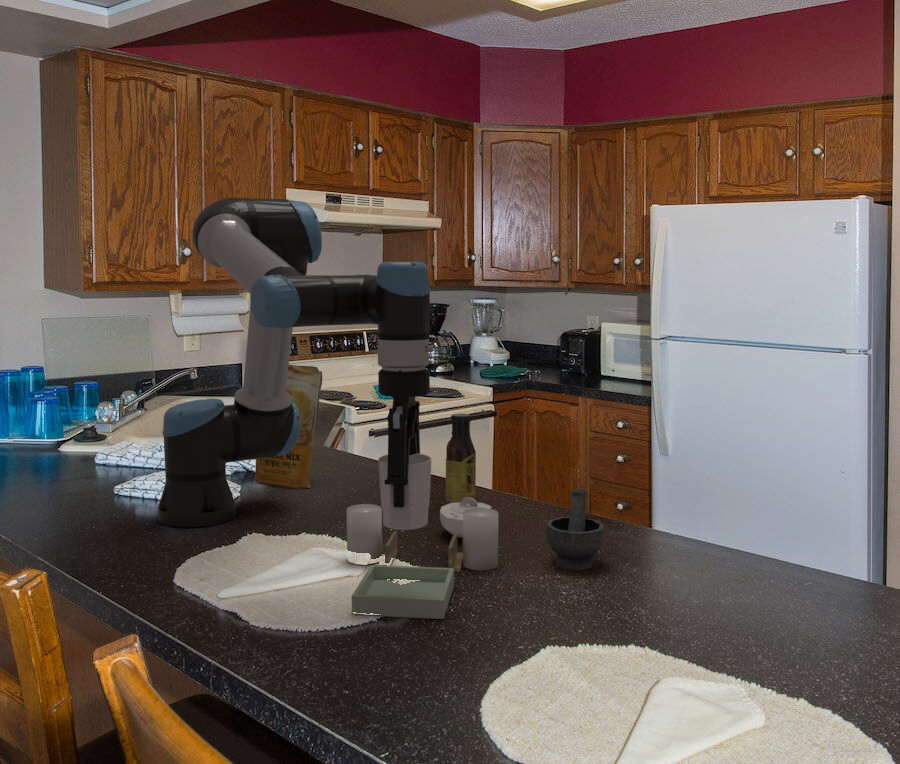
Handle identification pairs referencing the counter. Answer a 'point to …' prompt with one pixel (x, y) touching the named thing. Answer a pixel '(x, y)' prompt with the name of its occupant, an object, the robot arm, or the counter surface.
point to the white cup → (418, 490)
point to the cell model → (457, 514)
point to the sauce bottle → (460, 461)
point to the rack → (453, 556)
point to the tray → (404, 592)
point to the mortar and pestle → (575, 535)
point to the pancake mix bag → (297, 462)
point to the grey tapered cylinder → (365, 529)
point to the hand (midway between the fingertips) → (405, 519)
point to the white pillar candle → (480, 538)
